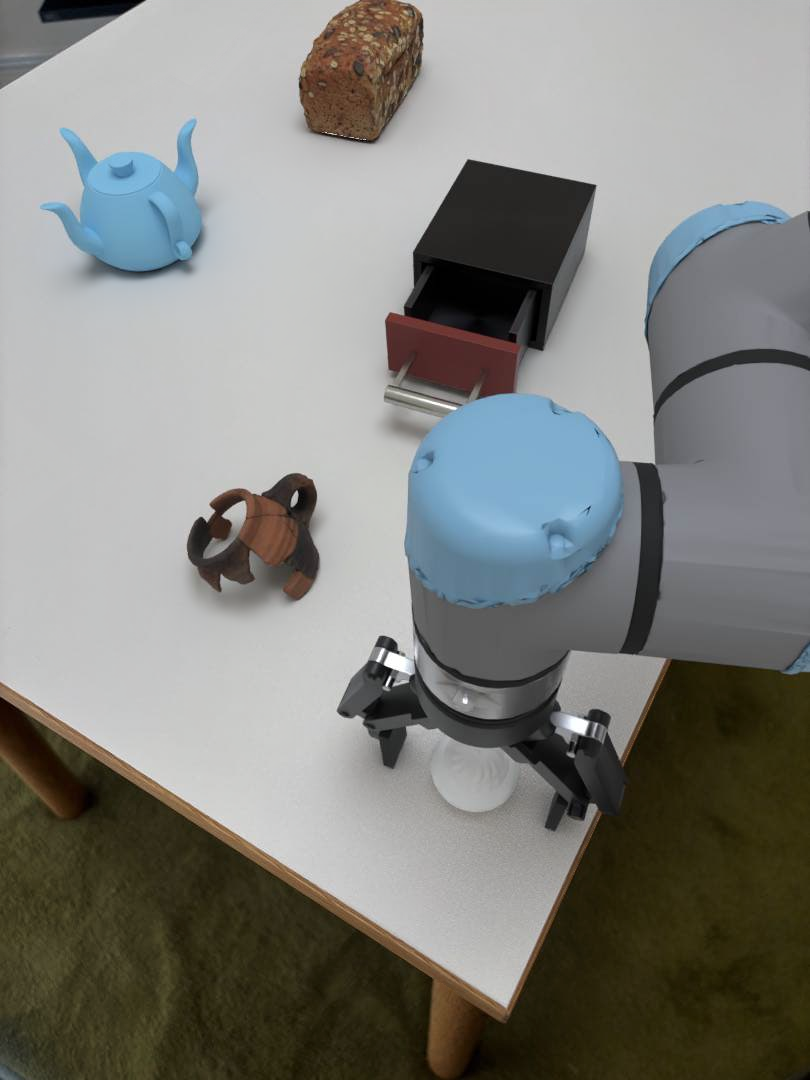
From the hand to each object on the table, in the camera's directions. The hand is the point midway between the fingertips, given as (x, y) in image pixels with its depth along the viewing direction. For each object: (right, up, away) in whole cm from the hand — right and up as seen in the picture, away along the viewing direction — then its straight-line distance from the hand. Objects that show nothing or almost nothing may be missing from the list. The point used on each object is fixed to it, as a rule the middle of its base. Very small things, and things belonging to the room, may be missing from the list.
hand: (473, 779), depth 59 cm
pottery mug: (-16, +16, +11) cm, 26 cm away
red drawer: (+1, +35, +22) cm, 41 cm away
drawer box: (+5, +44, +28) cm, 53 cm away
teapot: (-35, +52, +35) cm, 71 cm away
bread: (-10, +75, +48) cm, 90 cm away
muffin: (0, 0, 0) cm, 0 cm away
